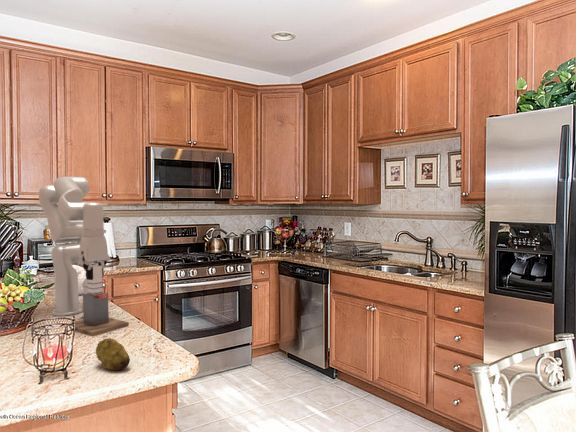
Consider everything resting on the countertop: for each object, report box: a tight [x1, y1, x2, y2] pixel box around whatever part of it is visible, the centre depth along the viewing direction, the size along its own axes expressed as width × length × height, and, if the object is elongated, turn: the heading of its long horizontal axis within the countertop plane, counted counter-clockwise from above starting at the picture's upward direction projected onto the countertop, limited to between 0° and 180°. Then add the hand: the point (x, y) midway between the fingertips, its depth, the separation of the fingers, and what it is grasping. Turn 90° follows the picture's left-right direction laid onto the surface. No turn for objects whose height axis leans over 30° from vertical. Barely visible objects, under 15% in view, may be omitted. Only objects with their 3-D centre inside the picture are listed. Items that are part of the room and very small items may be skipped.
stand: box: [74, 292, 130, 337], centre depth 180 cm, size 20×16×14 cm
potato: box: [95, 337, 131, 371], centre depth 138 cm, size 8×13×8 cm, turn 34°
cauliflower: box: [72, 264, 86, 296], centre depth 243 cm, size 20×18×16 cm
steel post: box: [87, 264, 104, 296], centre depth 180 cm, size 4×4×20 cm
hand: (94, 278), depth 180 cm, fingers closed on steel post, 4 cm apart
